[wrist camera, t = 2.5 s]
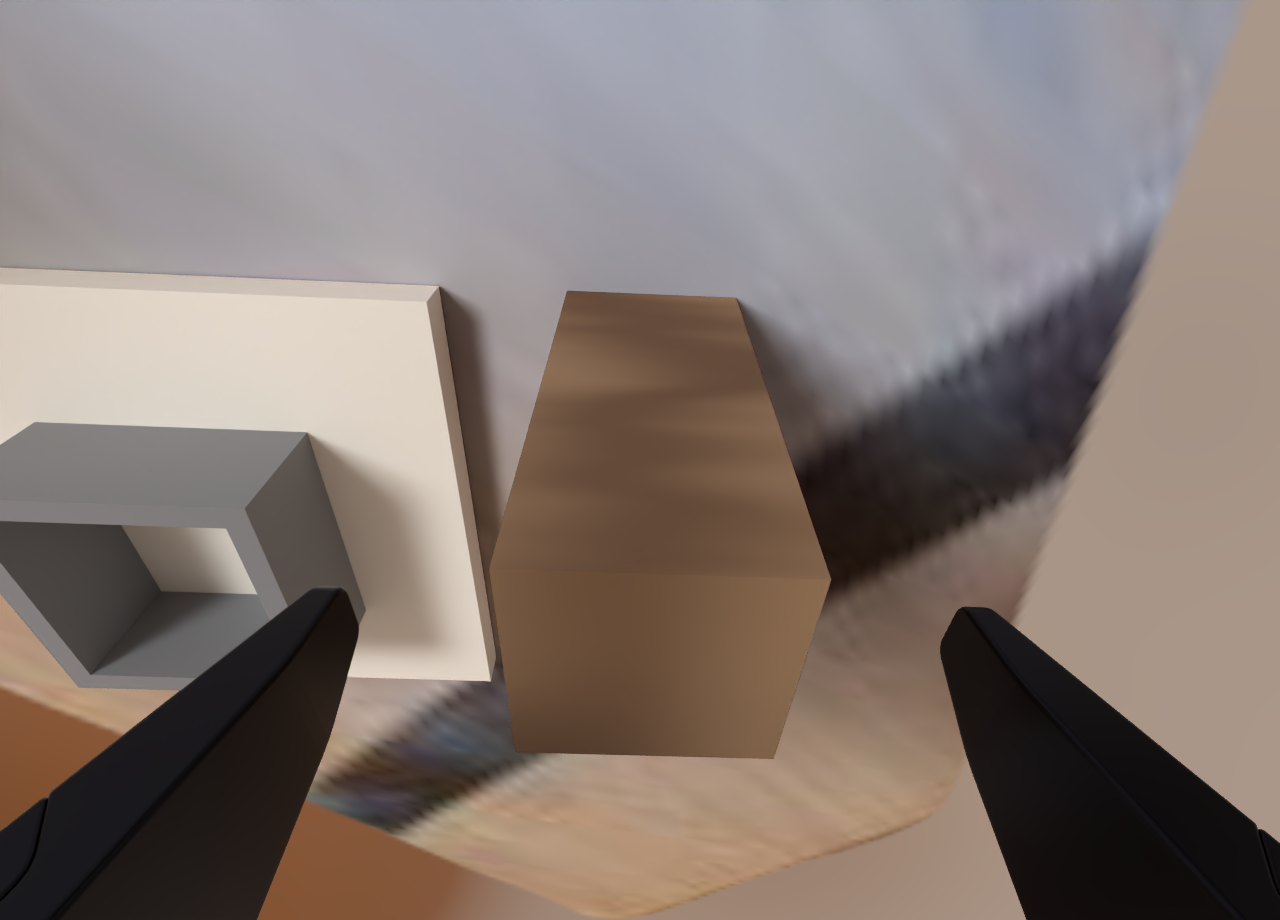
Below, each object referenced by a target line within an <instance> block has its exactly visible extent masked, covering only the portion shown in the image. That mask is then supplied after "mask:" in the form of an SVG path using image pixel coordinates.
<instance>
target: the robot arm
mask: <svg viewBox="0 0 1280 920" xmlns="http://www.w3.org/2000/svg"><path fill="white" fill-rule="evenodd" d="M358 636H359V623H358V620H357V617H356V614H355V611H354V608H353V605H352V603H351V600H350V597H349V594H348V592H347V590H346V589H345V588H343V587H340V586H316V587H313V588H311V589H310V590H308V591H307V592H306V593H304V594H303V595H302V596H300V597H299V598H298V599H297V600H295V601H294V602H293V603H292V604H290V605H289V606H288V607H286V608H285V609H284V610H283V611H281V612H280V613H279V614H277V615H276V616H275V617H274V618H272V619H271V620H270V621H268V622H267V623H266V624H265V625H263V626H262V627H261V628H260V629H258V630H257V631H256V632H254V633H253V634H252V635H251V636H249V637H248V638H247V639H245V640H244V641H243V642H242V643H240V644H239V645H238V646H237V647H235V648H234V649H233V650H231V651H230V652H229V653H228V654H226V655H225V656H224V657H222V658H221V659H220V660H219V661H217V662H216V663H215V664H213V665H212V666H211V667H210V668H208V669H207V670H206V671H205V672H203V673H202V674H201V675H199V676H198V677H197V678H196V679H194V680H193V681H192V682H190V683H189V684H188V685H187V686H185V687H184V688H183V689H182V690H180V691H179V692H178V693H176V694H175V695H174V696H173V697H171V698H170V699H169V700H167V701H166V702H165V703H164V704H162V705H161V706H160V707H158V708H157V709H156V710H155V711H153V712H152V713H151V714H150V715H148V716H147V717H146V718H144V719H143V720H142V721H141V722H139V723H138V724H137V725H135V726H134V727H133V728H132V729H130V730H129V731H128V732H127V733H125V734H124V735H123V736H121V737H120V738H119V739H118V740H116V741H115V742H114V743H112V744H111V745H110V746H109V747H107V748H106V749H105V750H104V751H102V752H101V753H100V754H98V755H97V756H96V757H95V758H93V759H92V760H91V761H89V762H88V763H87V764H86V765H84V766H83V767H82V768H80V769H79V770H78V771H77V772H75V773H74V774H73V775H72V776H70V777H69V778H68V779H66V780H65V781H64V782H63V783H61V784H60V785H59V786H57V787H56V788H55V789H54V790H52V791H51V793H50V794H49V797H48V798H42V799H41V800H39V801H38V802H37V803H35V804H34V805H33V806H31V807H30V808H29V809H28V810H26V811H25V812H24V813H23V814H21V815H20V816H19V817H18V818H17V819H15V820H14V821H12V822H11V823H10V824H9V825H7V826H6V827H5V828H3V829H2V830H1V831H0V920H257V918H258V916H259V913H260V910H261V908H262V906H263V903H264V901H265V898H266V896H267V893H268V891H269V888H270V886H271V883H272V881H273V878H274V876H275V873H276V871H277V868H278V866H279V863H280V861H281V859H282V856H283V854H284V851H285V849H286V846H287V844H288V841H289V839H290V836H291V834H292V831H293V829H294V826H295V824H296V821H297V819H298V816H299V814H300V811H301V809H302V806H303V804H304V802H305V799H306V797H307V794H308V792H309V789H310V787H311V784H312V782H313V779H314V777H315V774H316V772H317V769H318V767H319V764H320V762H321V759H322V757H323V754H324V752H325V749H326V746H327V744H328V741H329V738H330V735H331V732H332V728H333V725H334V722H335V718H336V715H337V711H338V708H339V704H340V701H341V697H342V694H343V690H344V686H345V683H346V679H347V676H348V672H349V669H350V665H351V662H352V658H353V655H354V651H355V647H356V644H357V640H358ZM940 654H941V660H942V664H943V668H944V672H945V675H946V679H947V683H948V687H949V691H950V695H951V699H952V703H953V707H954V711H955V715H956V719H957V723H958V726H959V730H960V734H961V738H962V742H963V745H964V749H965V752H966V756H967V759H968V762H969V765H970V768H971V771H972V773H973V776H974V779H975V782H976V784H977V787H978V790H979V793H980V795H981V798H982V801H983V803H984V806H985V809H986V811H987V814H988V817H989V820H990V822H991V825H992V828H993V830H994V833H995V836H996V839H997V841H998V844H999V847H1000V849H1001V852H1002V855H1003V857H1004V860H1005V863H1006V866H1007V868H1008V871H1009V874H1010V877H1011V879H1012V882H1013V885H1014V887H1015V890H1016V893H1017V895H1018V898H1019V901H1020V904H1021V906H1022V909H1023V911H1024V914H1025V917H1026V920H1280V843H1279V842H1278V841H1277V840H1275V839H1274V838H1273V837H1272V836H1271V835H1269V834H1268V833H1267V832H1266V831H1264V830H1262V829H1258V828H1257V825H1256V824H1255V823H1254V822H1253V821H1252V820H1251V819H1249V818H1248V817H1247V816H1246V815H1244V814H1243V813H1242V812H1240V811H1239V810H1238V809H1237V808H1236V807H1234V806H1233V805H1232V804H1231V803H1230V802H1228V801H1227V800H1226V799H1225V798H1224V797H1222V796H1221V795H1220V794H1219V793H1217V792H1216V791H1215V790H1214V789H1212V788H1211V787H1210V786H1209V785H1208V784H1206V783H1205V782H1204V781H1203V780H1201V779H1200V778H1199V777H1198V776H1197V775H1195V774H1194V773H1193V772H1192V771H1190V770H1189V769H1188V768H1187V767H1185V766H1184V765H1183V764H1182V763H1181V762H1179V761H1178V760H1177V759H1176V758H1174V757H1173V756H1172V755H1171V754H1169V753H1168V752H1167V751H1166V750H1164V749H1163V748H1162V747H1161V746H1160V745H1158V744H1157V743H1156V742H1155V741H1154V740H1152V739H1151V738H1150V737H1149V736H1147V735H1146V734H1145V733H1144V732H1142V731H1141V730H1140V729H1139V728H1137V727H1136V726H1135V725H1134V724H1133V723H1131V722H1130V721H1128V719H1126V718H1125V717H1124V716H1123V715H1121V714H1120V713H1119V712H1118V711H1117V710H1115V709H1114V708H1113V707H1112V706H1110V705H1109V704H1108V703H1107V702H1106V701H1104V700H1103V699H1102V698H1101V697H1099V696H1098V695H1097V694H1096V693H1095V692H1093V691H1092V690H1091V689H1090V688H1088V687H1087V686H1086V685H1085V684H1083V683H1082V682H1081V681H1080V680H1079V679H1077V678H1076V677H1075V676H1074V675H1072V674H1071V673H1070V672H1069V671H1068V670H1066V669H1065V668H1064V667H1063V666H1061V665H1060V664H1059V663H1058V662H1056V661H1055V660H1054V659H1053V658H1052V657H1050V656H1049V655H1048V654H1046V653H1045V652H1044V651H1043V650H1042V649H1040V648H1039V647H1038V646H1037V645H1036V644H1034V643H1033V642H1032V641H1031V640H1029V639H1028V638H1027V637H1026V636H1025V635H1023V634H1022V633H1021V632H1020V631H1018V630H1017V629H1016V628H1015V627H1013V626H1012V625H1011V624H1010V623H1009V622H1007V621H1006V620H1005V619H1004V618H1002V617H1001V616H1000V615H999V614H997V613H996V612H995V611H993V610H991V609H989V608H984V607H962V608H960V609H959V610H958V611H957V612H956V614H955V616H954V618H953V619H952V621H951V623H950V625H949V627H948V629H947V631H946V633H945V635H944V637H943V639H942V641H941V646H940Z"/></svg>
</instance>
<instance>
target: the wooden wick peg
mask: <svg viewBox="0 0 1280 920" xmlns="http://www.w3.org/2000/svg"><path fill="white" fill-rule="evenodd" d="M489 573H490V580H491V587H492V594H493V601H494V607H495V614H496V621H497V628H498V635H499V642H500V649H501V656H502V662H503V669H504V676H505V683H506V690H507V697H508V704H509V711H510V718H511V724H512V731H513V738H514V745H515V752H528V753H567V754H605V755H644V756H682V757H721V758H759V759H774V756H775V752H776V749H777V746H778V743H779V740H780V737H781V734H782V731H783V728H784V725H785V721H786V718H787V715H788V712H789V709H790V706H791V703H792V700H793V697H794V694H795V690H796V687H797V684H798V681H799V678H800V675H801V672H802V669H803V666H804V663H805V659H806V656H807V653H808V650H809V647H810V644H811V641H812V638H813V635H814V632H815V628H816V625H817V622H818V619H819V616H820V613H821V610H822V607H823V604H824V601H825V598H826V594H827V591H828V588H829V585H830V582H831V578H830V575H829V572H828V569H827V566H826V563H825V560H824V557H823V554H822V551H821V548H820V545H819V542H818V539H817V536H816V533H815V530H814V527H813V524H812V521H811V518H810V516H809V513H808V510H807V507H806V504H805V501H804V498H803V495H802V492H801V489H800V486H799V483H798V480H797V477H796V474H795V471H794V468H793V465H792V462H791V459H790V456H789V453H788V450H787V447H786V444H785V441H784V439H783V436H782V433H781V430H780V427H779V424H778V421H777V418H776V415H775V412H774V409H773V406H772V403H771V400H770V397H769V394H768V391H767V388H766V385H765V382H764V379H763V376H762V373H761V370H760V367H759V365H758V362H757V359H756V356H755V353H754V350H753V347H752V344H751V341H750V338H749V335H748V332H747V329H746V326H745V323H744V320H743V317H742V314H741V311H740V308H739V305H738V302H737V299H736V298H725V297H701V296H677V295H653V294H629V293H606V292H582V291H567V293H566V297H565V300H564V304H563V308H562V311H561V315H560V318H559V322H558V325H557V329H556V332H555V336H554V339H553V343H552V347H551V350H550V354H549V357H548V361H547V364H546V368H545V371H544V375H543V379H542V382H541V386H540V389H539V393H538V396H537V400H536V403H535V407H534V410H533V414H532V418H531V421H530V425H529V428H528V432H527V435H526V439H525V442H524V446H523V449H522V453H521V457H520V460H519V464H518V467H517V471H516V474H515V478H514V481H513V485H512V489H511V492H510V496H509V499H508V503H507V506H506V510H505V513H504V517H503V520H502V524H501V528H500V531H499V535H498V538H497V542H496V545H495V549H494V552H493V556H492V559H491V563H490V567H489Z"/></svg>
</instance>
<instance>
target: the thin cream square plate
mask: <svg viewBox="0 0 1280 920" xmlns="http://www.w3.org/2000/svg"><path fill="white" fill-rule="evenodd" d="M316 586H340V587H343V588H345V589H346V590H347V592H348V594H349V597H350V600H351V603H352V605H353V608H354V611H355V614H356V617H357V620H358V623H359V636H358V640H357V644H356V647H355V651H354V655H353V658H352V662H351V665H350V669H349V672H348V676H347V677H366V678H401V679H435V680H469V681H491V678H492V673H493V669H494V665H495V660H496V653H495V646H494V640H493V633H492V627H491V620H490V614H489V607H488V601H487V594H486V588H485V581H484V575H483V568H482V562H481V556H480V549H479V543H478V536H477V530H476V523H475V517H474V510H473V504H472V497H471V491H470V484H469V478H468V471H467V465H466V458H465V452H464V446H463V439H462V433H461V426H460V420H459V413H458V407H457V400H456V394H455V387H454V381H453V374H452V368H451V361H450V355H449V348H448V342H447V336H446V329H445V323H444V316H443V310H442V303H441V297H440V290H439V286H426V285H402V284H379V283H355V282H331V281H308V280H284V279H261V278H237V277H213V276H190V275H166V274H142V273H119V272H95V271H71V270H48V269H24V268H0V594H1V595H2V596H3V597H4V599H5V600H6V601H7V602H8V603H9V605H10V606H11V607H12V608H13V609H14V610H15V612H16V613H17V614H18V615H19V616H20V618H21V619H22V620H23V621H24V622H25V624H26V625H27V626H28V627H29V628H30V630H31V631H32V632H33V633H34V634H35V636H36V637H37V638H38V639H39V640H40V642H41V643H42V644H43V645H44V646H45V648H46V649H47V650H48V651H49V652H50V653H51V655H52V656H53V657H54V658H55V659H56V661H57V662H58V663H59V664H60V665H61V667H62V668H63V669H64V670H65V671H66V673H67V674H68V675H69V676H70V677H71V679H72V680H73V681H74V682H75V683H76V685H77V686H78V687H79V688H114V689H149V690H182V689H183V688H184V687H185V686H187V685H188V684H189V683H190V682H192V681H193V680H194V679H196V678H197V677H198V676H199V675H201V674H202V673H203V672H205V671H206V670H207V669H208V668H210V667H211V666H212V665H213V664H215V663H216V662H217V661H219V660H220V659H221V658H222V657H224V656H225V655H226V654H228V653H229V652H230V651H231V650H233V649H234V648H235V647H237V646H238V645H239V644H240V643H242V642H243V641H244V640H245V639H247V638H248V637H249V636H251V635H252V634H253V633H254V632H256V631H257V630H258V629H260V628H261V627H262V626H263V625H265V624H266V623H267V622H268V621H270V620H271V619H272V618H274V617H275V616H276V615H277V614H279V613H280V612H281V611H283V610H284V609H285V608H286V607H288V606H289V605H290V604H292V603H293V602H294V601H295V600H297V599H298V598H299V597H300V596H302V595H303V594H304V593H306V592H307V591H308V590H310V589H311V588H313V587H316Z"/></svg>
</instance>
